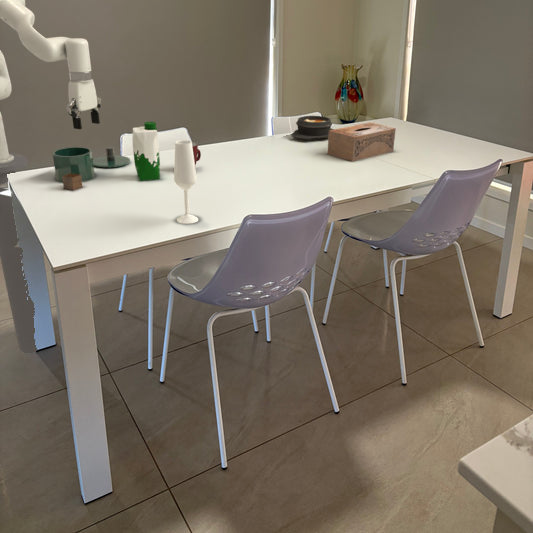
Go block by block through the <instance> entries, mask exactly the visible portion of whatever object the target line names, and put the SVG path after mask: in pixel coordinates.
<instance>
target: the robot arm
mask: <svg viewBox="0 0 533 533" xmlns="http://www.w3.org/2000/svg"><path fill="white" fill-rule="evenodd" d="M35 16H36V15H35V14H34V12H33V11H32V10H31V9H30V8H27V6H26V0H0V20H2V21H3V22H4V23H5V24H7V25H8V26H9V27H11V28H12V29H13V30H14V31H16V32H17V35H18V38H19V41H20V42H21V44H22V45H23V46H24V48H25V49H26V50H28V51H29V52H30V53H32V55H34V56H35V57H36V58H38V59H39V60H41V61H43V62H46V63H55V62H59V61H64V60H67V67H68V68H67V69H68V76H69V81H68V86H67V87H68V88H67V89H68V91H67V93H68V104H67V105H65V109H66V111H67V114H68V115H69V116H70V118H72V125H73V129H74V130H82V128H83V126H82V120H81V119H82V118H81V117H80V116H81V113H82V112H85V111H90V119H91V124H96V125H99V124H100V123H101V121H100V112H101V110H100V109H101V104H102V98H101V97H99V96H97V91H96V87H95V83H94V79H93V71H92V65H91V56H90V48H89V47H90V46H89V42H88V40H87V39H86V38H81V37H75V38H73V37H72V38H71V37H67V36H54V37H45V36H43V35H42V34H41V33H39V31H38V30H36V28H34V27H33V26H34V25H35V22H36V17H35ZM12 89H13V88H12V82H11V78H10V74H9V70H8V65H7V62H6V59H5V56H4V53H3V51H2V50H1V49H0V101H2V100H5V99H7V98H9V97H10V96H11V94H12ZM9 153H10V152H9V147H8V142H7V137H6V132H5V125H4V120H3V115H2V112H1V111H0V164H5V163H8V162H11V161H13V160H14V156H13V155H10V154H9Z"/></svg>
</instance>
